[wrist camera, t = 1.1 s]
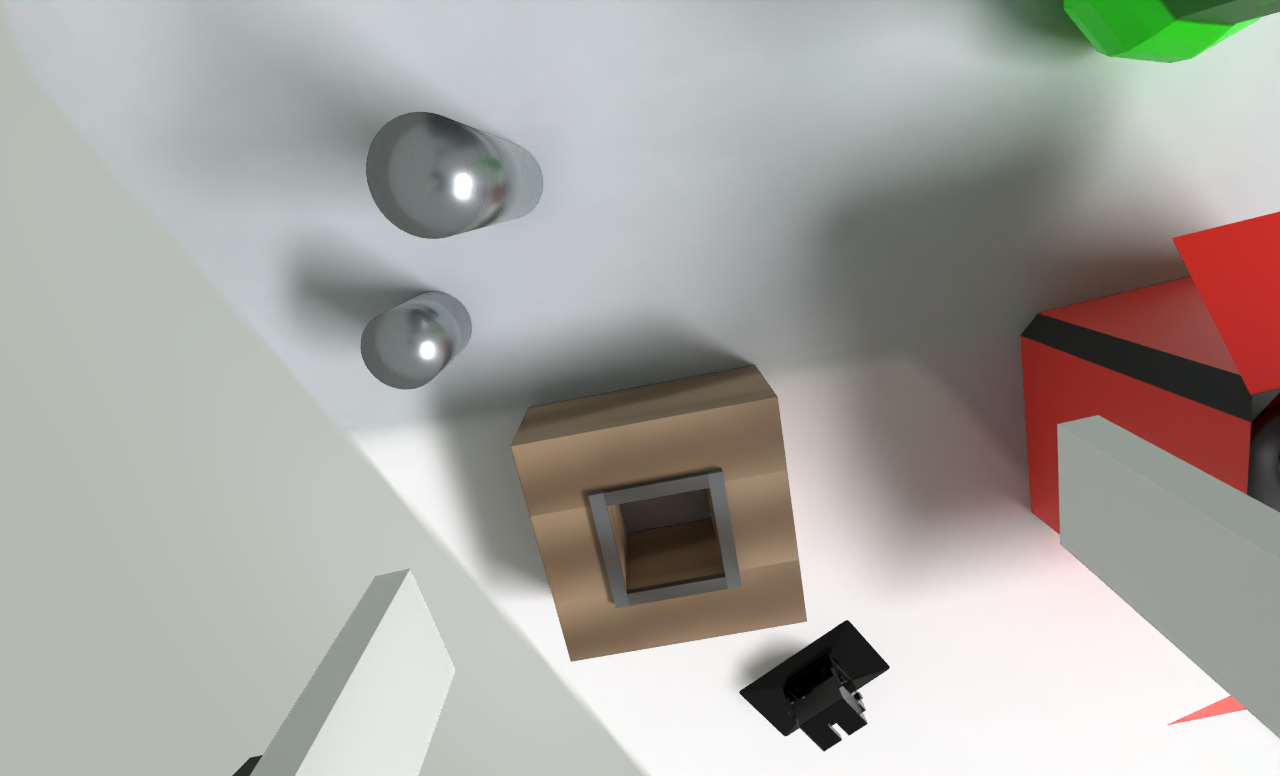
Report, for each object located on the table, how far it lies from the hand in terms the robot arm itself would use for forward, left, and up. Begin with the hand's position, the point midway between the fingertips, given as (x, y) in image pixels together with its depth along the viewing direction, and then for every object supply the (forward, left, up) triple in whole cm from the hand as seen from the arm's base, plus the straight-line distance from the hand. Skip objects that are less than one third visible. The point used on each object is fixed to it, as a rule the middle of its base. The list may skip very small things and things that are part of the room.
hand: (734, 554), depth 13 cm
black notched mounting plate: (+28, +6, -26) cm, 39 cm away
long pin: (-9, -7, -25) cm, 28 cm away
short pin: (-2, -13, -25) cm, 28 cm away
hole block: (+11, -2, -25) cm, 27 cm away
